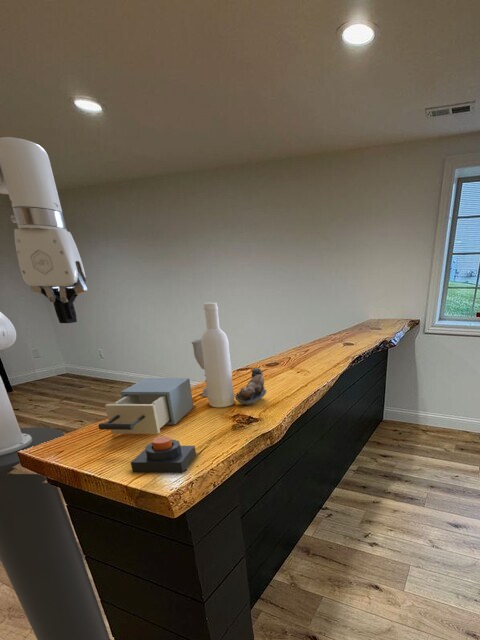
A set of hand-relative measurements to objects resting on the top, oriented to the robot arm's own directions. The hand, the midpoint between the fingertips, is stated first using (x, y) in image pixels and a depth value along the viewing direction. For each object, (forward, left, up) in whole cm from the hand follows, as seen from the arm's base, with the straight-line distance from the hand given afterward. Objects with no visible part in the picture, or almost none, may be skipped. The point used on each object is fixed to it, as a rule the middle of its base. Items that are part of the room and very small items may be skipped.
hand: (68, 322), depth 73 cm
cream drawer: (+8, +4, -26) cm, 28 cm away
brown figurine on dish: (+31, +30, -27) cm, 51 cm away
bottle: (+22, +28, -27) cm, 45 cm away
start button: (+21, -12, -23) cm, 34 cm away
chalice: (+15, +38, -27) cm, 49 cm away
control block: (+21, -12, -27) cm, 36 cm away
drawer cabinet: (+8, +17, -27) cm, 33 cm away
